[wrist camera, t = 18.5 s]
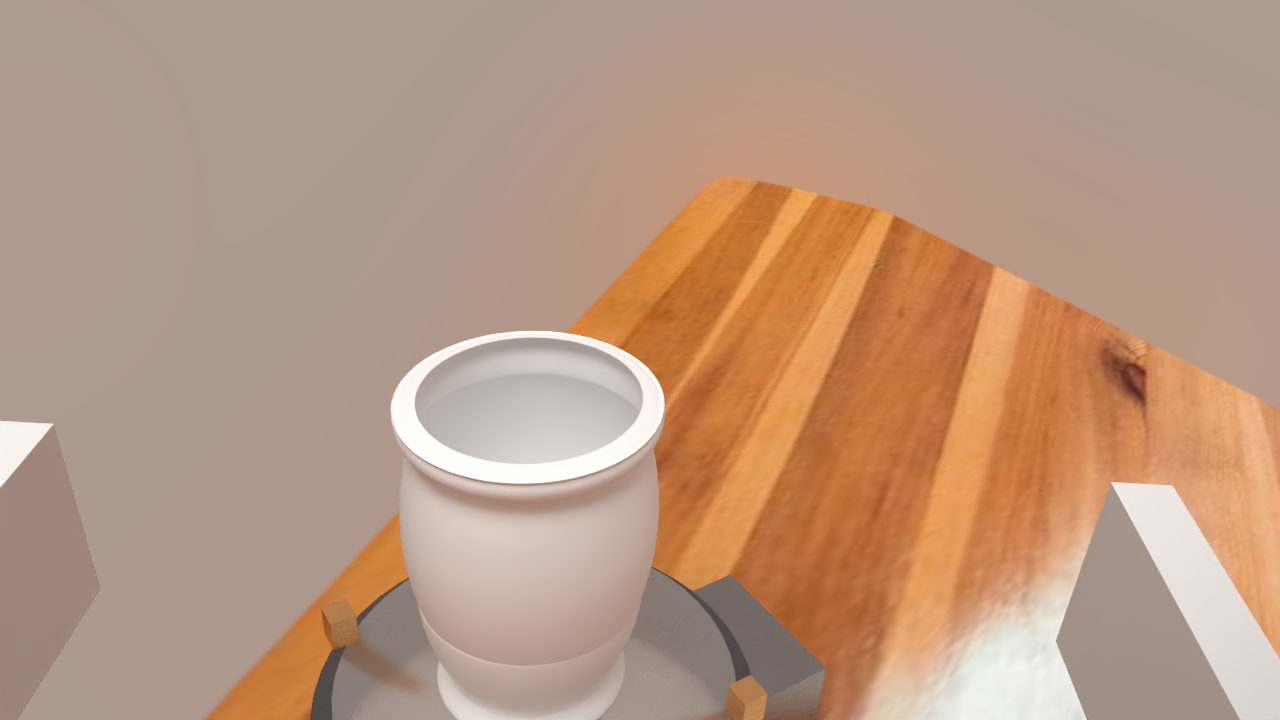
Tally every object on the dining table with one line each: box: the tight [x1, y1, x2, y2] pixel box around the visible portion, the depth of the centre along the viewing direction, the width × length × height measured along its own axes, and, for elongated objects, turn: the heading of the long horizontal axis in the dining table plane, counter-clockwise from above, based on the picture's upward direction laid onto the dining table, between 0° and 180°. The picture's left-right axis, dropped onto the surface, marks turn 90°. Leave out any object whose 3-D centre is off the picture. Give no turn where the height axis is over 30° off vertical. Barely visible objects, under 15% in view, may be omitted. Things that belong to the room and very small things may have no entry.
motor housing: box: [310, 567, 826, 720], centre depth 53 cm, size 24×20×11 cm
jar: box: [391, 331, 665, 720], centre depth 46 cm, size 11×10×15 cm
